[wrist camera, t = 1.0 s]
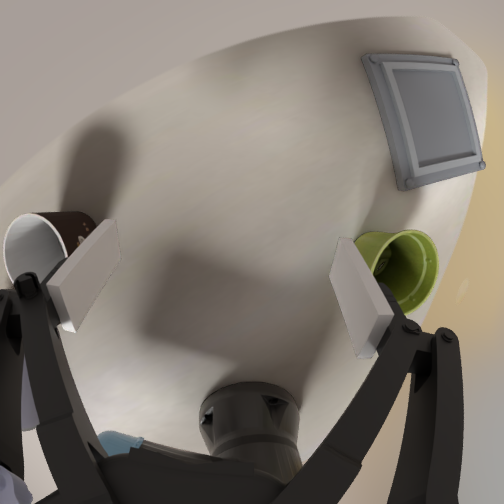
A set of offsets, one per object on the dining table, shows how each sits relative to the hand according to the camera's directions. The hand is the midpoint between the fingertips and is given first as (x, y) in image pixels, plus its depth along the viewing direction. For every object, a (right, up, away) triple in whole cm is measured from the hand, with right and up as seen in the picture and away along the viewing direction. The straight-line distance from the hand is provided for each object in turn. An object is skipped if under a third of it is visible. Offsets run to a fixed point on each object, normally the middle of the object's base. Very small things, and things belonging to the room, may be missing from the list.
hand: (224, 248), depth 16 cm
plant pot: (+16, 0, +19) cm, 25 cm away
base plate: (+26, +19, +15) cm, 35 cm away
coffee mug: (-20, 0, +14) cm, 25 cm away
